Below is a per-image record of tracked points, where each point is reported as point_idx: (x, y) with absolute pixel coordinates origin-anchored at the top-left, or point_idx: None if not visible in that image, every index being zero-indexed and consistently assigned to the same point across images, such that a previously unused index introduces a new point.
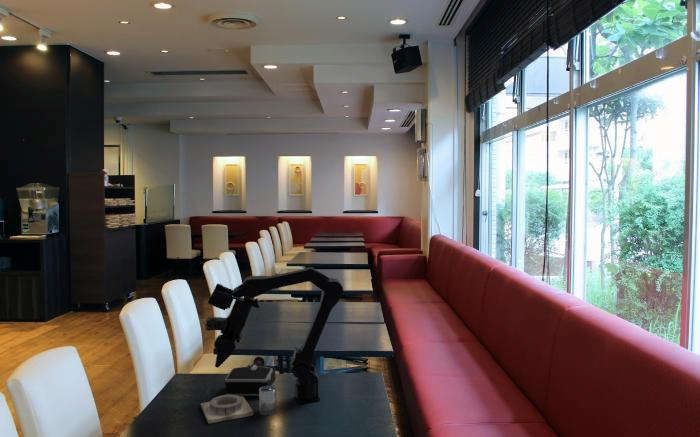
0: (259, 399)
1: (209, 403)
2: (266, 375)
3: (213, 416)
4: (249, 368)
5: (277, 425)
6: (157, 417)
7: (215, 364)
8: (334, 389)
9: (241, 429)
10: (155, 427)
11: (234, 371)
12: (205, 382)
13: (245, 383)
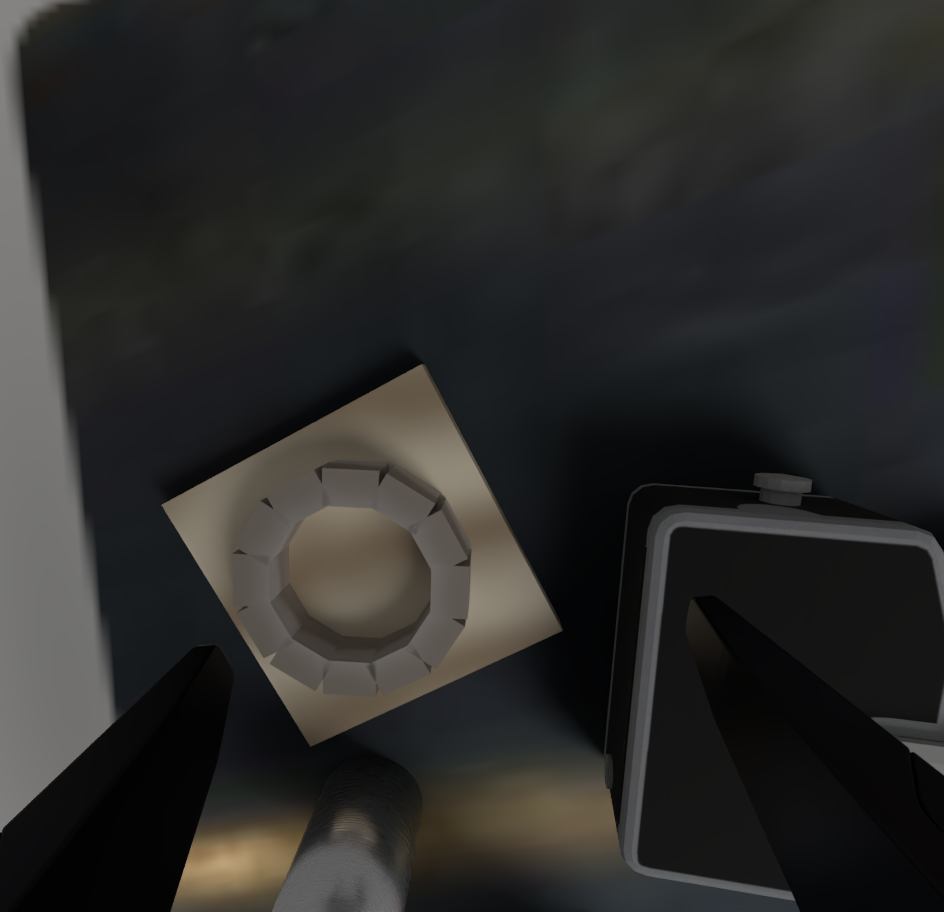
0: (318, 836)
1: (420, 431)
2: (710, 872)
3: (218, 521)
4: (899, 706)
5: (206, 872)
6: (224, 111)
7: (164, 677)
8: None
9: (134, 702)
10: (80, 168)
11: (843, 570)
12: (910, 240)
13: (629, 683)
